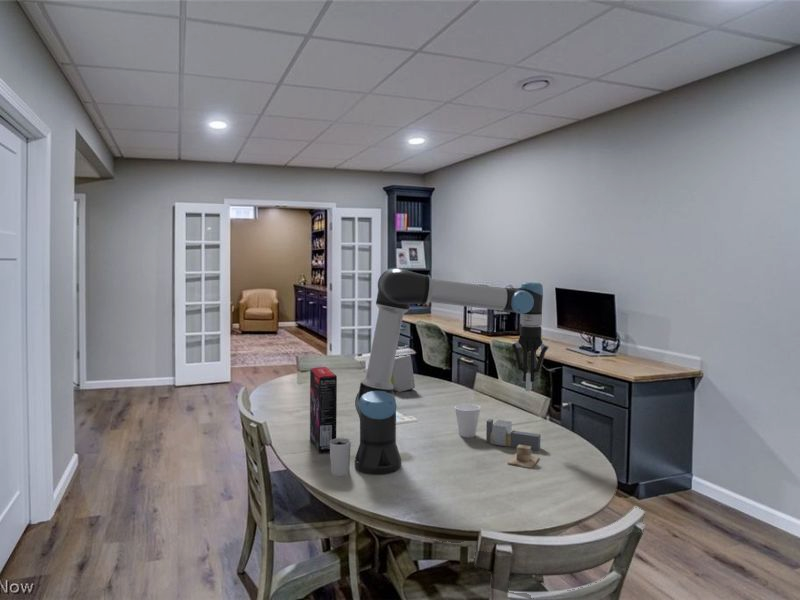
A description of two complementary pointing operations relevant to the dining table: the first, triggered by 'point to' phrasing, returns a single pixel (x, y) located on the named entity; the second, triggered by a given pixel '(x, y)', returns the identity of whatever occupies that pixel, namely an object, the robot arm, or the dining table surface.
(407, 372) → the electrical switch box
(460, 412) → the cup
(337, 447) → the toilet paper roll
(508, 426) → the grey block
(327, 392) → the graphics card box
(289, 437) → the dining table surface
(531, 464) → the tan tabbed plate
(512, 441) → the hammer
